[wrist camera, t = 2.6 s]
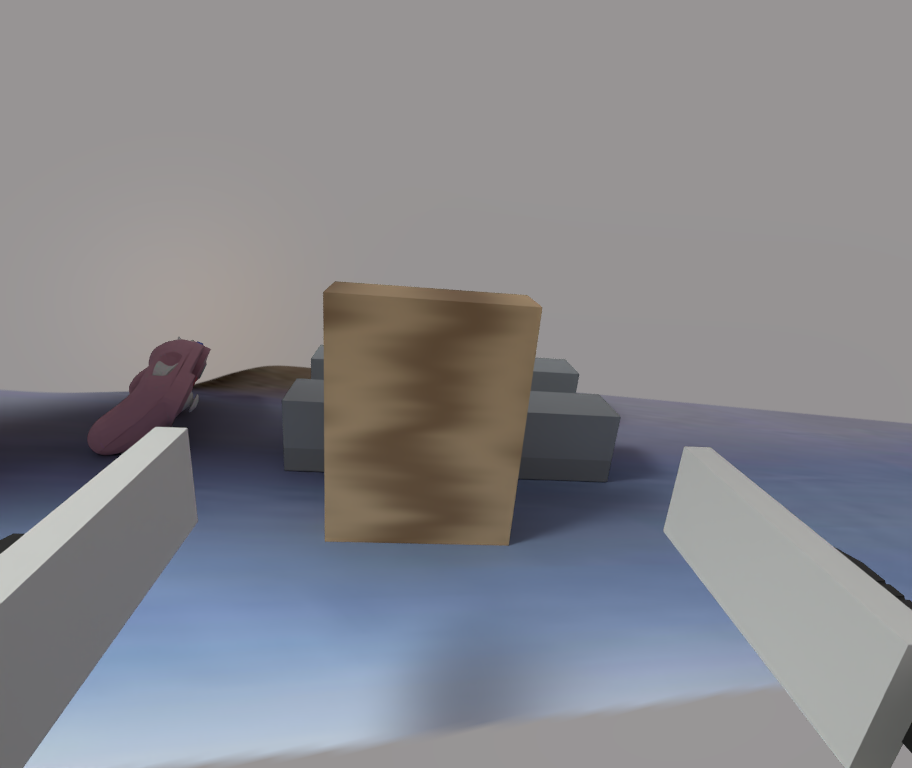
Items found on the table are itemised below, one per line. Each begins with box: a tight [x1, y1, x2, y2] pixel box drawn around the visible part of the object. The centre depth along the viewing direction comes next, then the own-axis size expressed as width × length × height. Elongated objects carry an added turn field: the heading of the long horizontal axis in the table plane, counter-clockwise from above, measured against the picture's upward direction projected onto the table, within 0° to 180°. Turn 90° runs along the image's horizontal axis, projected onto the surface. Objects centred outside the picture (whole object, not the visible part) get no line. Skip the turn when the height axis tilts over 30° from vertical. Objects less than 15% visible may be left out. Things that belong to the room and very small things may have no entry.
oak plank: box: [323, 281, 542, 546], centre depth 24 cm, size 9×3×12 cm, turn 94°
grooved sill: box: [282, 345, 620, 482], centre depth 35 cm, size 20×12×4 cm, turn 94°
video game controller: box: [87, 337, 210, 455], centre depth 33 cm, size 10×4×7 cm, turn 17°
